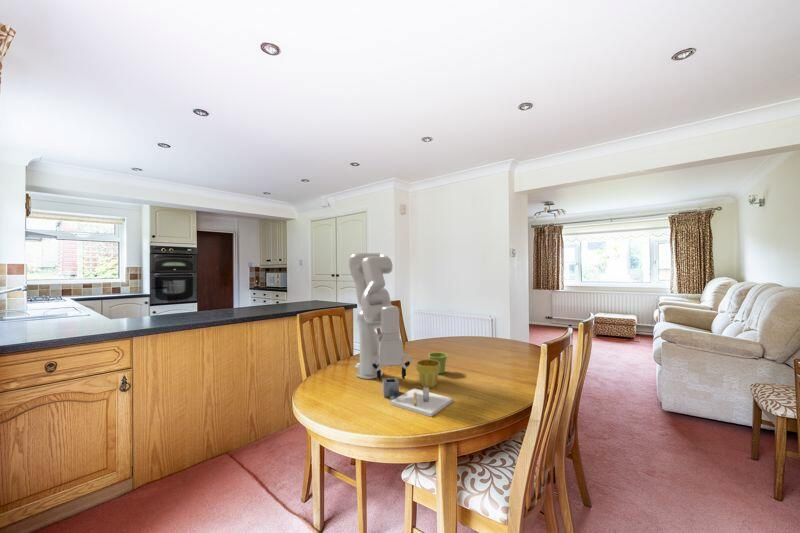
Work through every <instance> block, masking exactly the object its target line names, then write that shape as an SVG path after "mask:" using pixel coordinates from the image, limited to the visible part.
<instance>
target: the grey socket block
mask: <svg viewBox="0 0 800 533" xmlns="http://www.w3.org/2000/svg"><path fill="white" fill-rule="evenodd" d="M382 394H383V398H389V400H390V401H391V400H393V399H395V398H397V397H399V396H400V381H399V380H398V378H397V377H389V378H388V377H386V378H382ZM390 401H389V402H390Z"/></svg>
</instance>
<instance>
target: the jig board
mask: <svg viewBox="0 0 800 533" xmlns="http://www.w3.org/2000/svg"><path fill="white" fill-rule="evenodd" d="M414 393H416V394H417V406H414ZM453 399H454V398H453V397H449V396H445V395H441V394H437V393H434V392H430V391H429V402H424V401H423V389H417V388H412V389H410V390H408V391H406V392H405V393H403V394H402V393H401V395H399V396H398V397H395V399H393V400H391V401H389V403H390V406H391V405H392V406H395V407H398V408H401V409H404V410H408V411H411V412H414V413H416V414H420V415H424V416H427V417H430V418H432V417H433V416H434V415H436V414H437V413H439V412H440V411H441V410H443V409H444V408H445V407H447V406H448V405H450V404H451V403H452V402H453V401H454V400H453Z"/></svg>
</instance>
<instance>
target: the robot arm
mask: <svg viewBox="0 0 800 533" xmlns="http://www.w3.org/2000/svg"><path fill="white" fill-rule="evenodd" d="M348 259H349V260H348V266H349V267H348V268H349V271H350V274H351V276H352V278H353V282H354V285H355V286H354V287H355V292H356V299H357V302H358V305H359V307H361V308H360V309H361V311H359V312H358V314H357V325H358V332H359V334H358V335H359V362H357V363H356V364H355V365H354V368H355V369H357V372H356V377H358V378H360V379H364V380H368V379H369V380H373V379H378V381H382V376H383V374H384V371H383V370H381V368H382V367H393V366H394V367H395V366H401V378H402V379H403V380H405V379H406V378H405V377H406V376H407V369H408V367H409V366H410V364H411V362H412V360H413V357H412V356H411V355H409V354H407V353H405V352H404V344H403V340H402V339H401V338H400V336H401V333H400V332H401V331H400V329H401V328H400V309H399V307H398V306H396V305H393V304H392V302H391V298H390V293H389V291H388V289H386V288H385V286H386V280H385V277H384V275H389V274H390V273H392V272H393V262H392V260H391V258H390V257H389V256H388V255H385V254H384V253H380V252H376V253H375V252H373V253H372V252H360V253H359V252H358V253H353V254H352V255H350V257H349V258H348ZM376 329H380V333H379V334H378V333H377V332H376ZM405 359H407V360H406V362H405Z"/></svg>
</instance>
